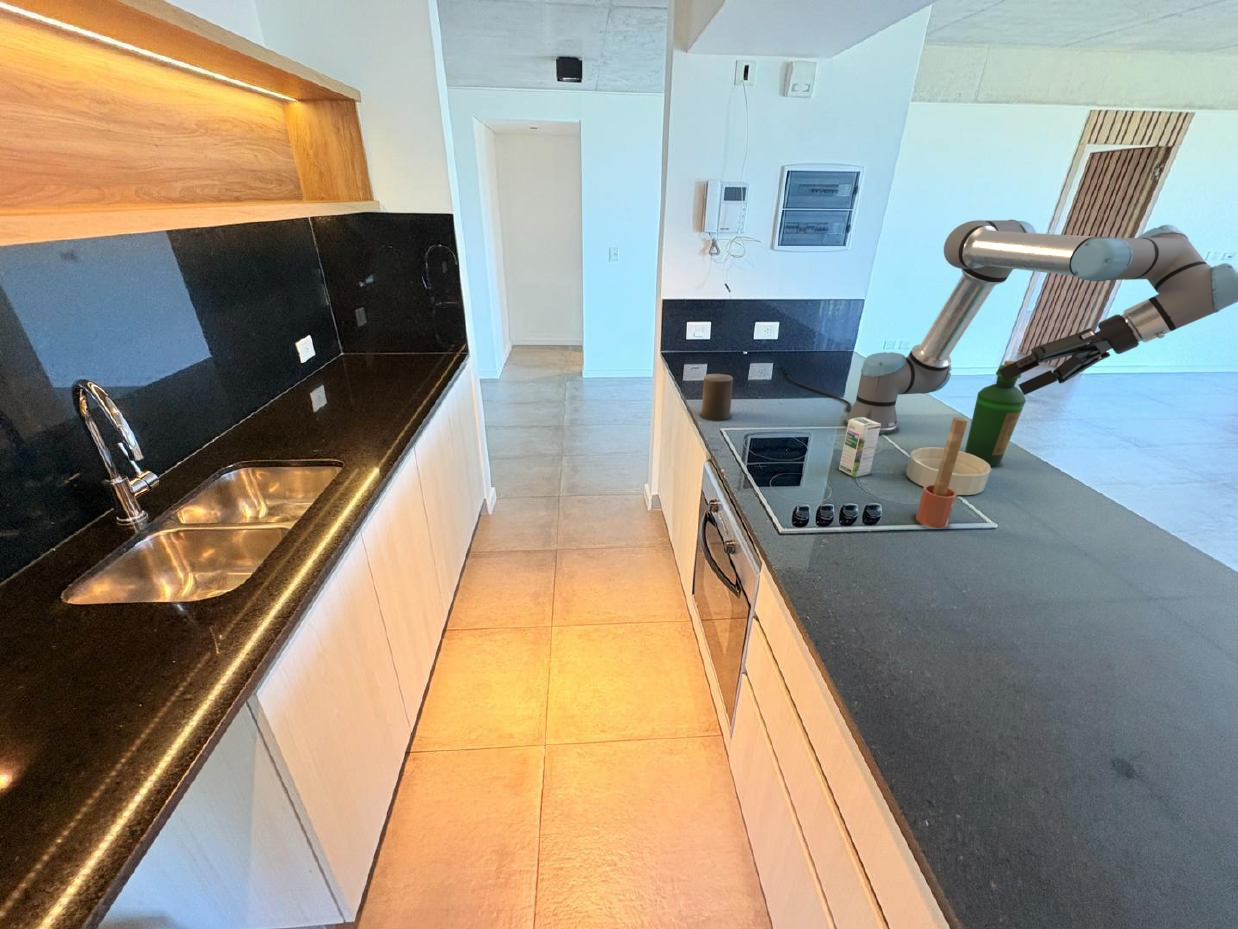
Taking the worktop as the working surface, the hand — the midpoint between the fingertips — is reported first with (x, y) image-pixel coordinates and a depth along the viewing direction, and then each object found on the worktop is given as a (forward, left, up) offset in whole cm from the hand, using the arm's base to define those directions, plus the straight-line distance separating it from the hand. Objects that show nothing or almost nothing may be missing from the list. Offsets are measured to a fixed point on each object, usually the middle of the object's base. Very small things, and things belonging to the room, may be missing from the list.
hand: (1011, 383), depth 119 cm
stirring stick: (+11, -22, -27) cm, 37 cm away
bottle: (-15, +16, -28) cm, 36 cm away
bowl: (-6, -4, -28) cm, 29 cm away
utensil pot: (+11, -22, -28) cm, 37 cm away
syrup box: (-16, -23, -28) cm, 40 cm away
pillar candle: (-66, -43, -28) cm, 84 cm away
